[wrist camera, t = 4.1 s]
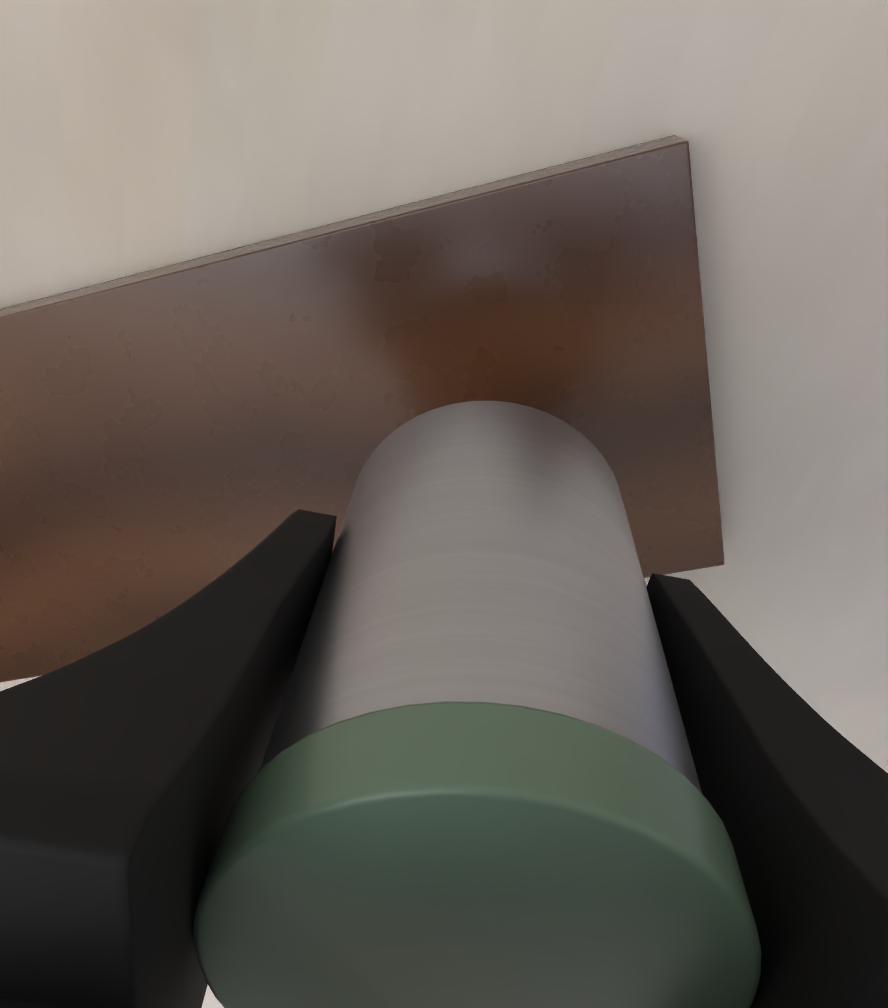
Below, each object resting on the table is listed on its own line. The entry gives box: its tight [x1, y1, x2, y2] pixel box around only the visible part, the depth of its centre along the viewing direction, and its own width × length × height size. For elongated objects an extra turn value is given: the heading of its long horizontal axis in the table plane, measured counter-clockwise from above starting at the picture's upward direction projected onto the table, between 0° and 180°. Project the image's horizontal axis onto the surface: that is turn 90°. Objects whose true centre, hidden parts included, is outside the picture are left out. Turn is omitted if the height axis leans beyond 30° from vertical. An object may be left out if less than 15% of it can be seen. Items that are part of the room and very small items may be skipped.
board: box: [0, 135, 724, 682], centre depth 20 cm, size 10×24×1 cm, turn 104°
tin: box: [194, 401, 761, 1008], centre depth 11 cm, size 5×5×8 cm
